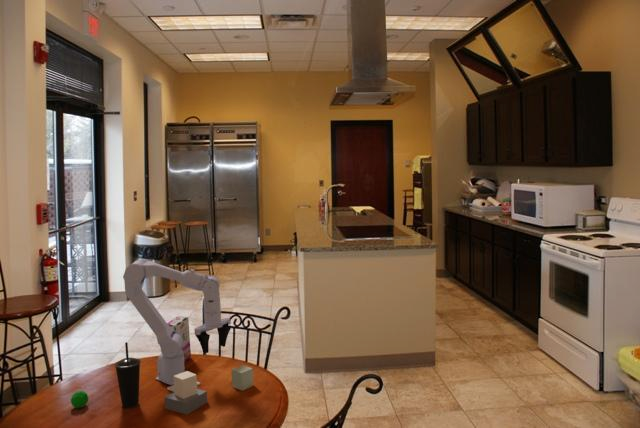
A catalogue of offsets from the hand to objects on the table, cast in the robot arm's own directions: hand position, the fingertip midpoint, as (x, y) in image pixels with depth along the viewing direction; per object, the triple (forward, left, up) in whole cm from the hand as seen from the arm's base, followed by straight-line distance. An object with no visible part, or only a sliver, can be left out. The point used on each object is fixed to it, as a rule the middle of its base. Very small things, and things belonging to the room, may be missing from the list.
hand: (214, 349), depth 181 cm
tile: (-2, -12, -10) cm, 16 cm away
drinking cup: (-5, -30, -10) cm, 32 cm away
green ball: (-17, -40, -10) cm, 45 cm away
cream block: (+10, -20, -6) cm, 23 cm away
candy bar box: (-22, +1, -10) cm, 24 cm away
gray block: (+10, -20, -10) cm, 25 cm away
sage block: (+14, 0, -10) cm, 17 cm away
